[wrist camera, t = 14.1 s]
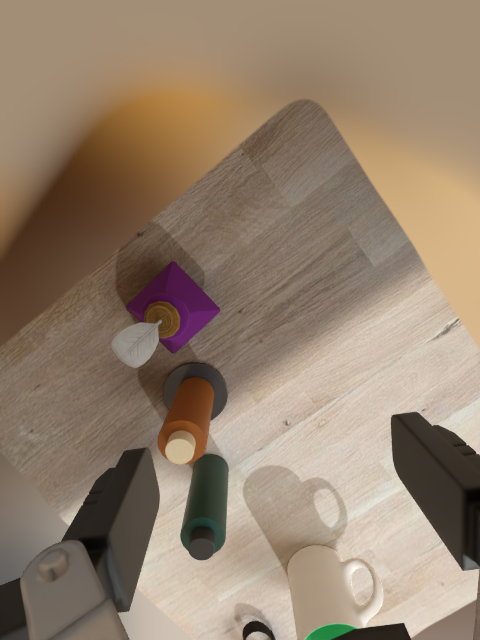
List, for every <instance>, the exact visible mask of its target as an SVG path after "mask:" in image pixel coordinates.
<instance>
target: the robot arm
mask: <svg viewBox="0 0 480 640" xmlns="http://www.w3.org/2000/svg"><path fill="white" fill-rule="evenodd" d="M391 435H392V454H393V462H394V466H395V469H396V472H397V474H398V476H399V478H400V480H401V481H402V483H403V484H404V485H405V487H406V488H407V490H408V491H409V493H410V494H411V496H412V497H413V499H414V500H415V501H416V503H417V504H418V506H419V507H420V509H421V510H422V512H423V513H424V515H425V516H426V518H427V519H428V520H429V522H430V523H431V525H432V526H433V528H434V529H435V531H436V532H437V534H438V535H439V537H440V538H441V539H442V541H443V542H444V544H445V545H446V547H447V548H448V550H449V551H450V553H451V554H452V556H453V557H454V558H455V560H456V561H457V563H458V564H459V566H460V567H461V569H462V570H463V571H465V570H473V569H480V455H479V454H476V452H475V451H474V450H473V449H472V448H471V447H470V446H469V445H466V443H465V442H464V441H463V440H462V439H461V438H460V437H458V436H457V435H456V434H455V433H454V432H451V431H449V430H447V429H445V428H443V427H441V426H439V425H434V426H432V425H431V424H430V423H429V422H428V421H427V420H426V419H424V418H423V417H422V416H421V415H420V414H419V413H418V412H410V413H403V414H396V415H392V417H391ZM159 501H160V494H159V486H158V482H157V477H156V473H155V469H154V464H153V460H152V455H151V452H150V449H149V448H139V449H132V450H126V451H124V452H123V454H122V456H121V458H120V460H119V462H118V464H117V465H116V467H115V468H109V469H108V470H107V471H106V472H105V473H104V474H102V475H101V476H100V477H99V478H98V479H97V480H96V482H95V483H94V485H93V487H92V489H91V490H90V492H89V495H88V496H87V497H86V499H85V501H84V502H83V506H81V508H80V509H79V511H78V513H77V515H76V516H75V518H74V520H73V521H72V523H71V525H70V527H69V528H68V530H67V532H66V534H65V535H64V537H63V539H62V541H61V542H59V543H56V544H54V545H52V546H50V547H48V548H46V549H45V550H43V551H42V552H40V553H39V554H38V555H37V556H36V557H35V558H34V559H33V560H32V561H31V562H30V563H29V564H28V565H27V567H26V568H25V570H24V571H23V574H22V576H21V578H18V579H16V580H13V581H11V582H8V583H6V584H3V585H0V640H129V637H128V635H127V633H126V631H125V629H124V626H123V624H122V622H121V619H120V617H119V615H118V612H127V611H129V610H130V607H131V603H132V599H133V596H134V593H135V589H136V586H137V582H138V579H139V575H140V572H141V568H142V565H143V561H144V558H145V554H146V551H147V547H148V544H149V540H150V537H151V533H152V530H153V526H154V523H155V519H156V516H157V512H158V509H159ZM331 640H411V638H410V636H409V634H408V632H407V629H406V627H405V625H404V623H400V624H392V625H384V626H376V627H368V628H359V629H353V630H351V631H349V632H347V633H345V634H342V635H340V636H338V637H336V638H334V639H331ZM473 640H480V570H479V582H478V593H477V604H476V615H475V627H474V638H473Z"/></svg>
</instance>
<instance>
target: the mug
mask: <svg viewBox="0 0 480 640" xmlns="http://www.w3.org/2000/svg"><path fill="white" fill-rule="evenodd" d="M358 568H366V569H368V570H369V571H370V573H371V576H372V579H373V594H372V596H371V598H370V600H369V601H368V602H367V603H366V604H364V605H362V606H359V605H358V604H357V601H356V598H355V595H354V591H353V588H352V583H351V577H352V573H353V572H354V571H355V570H356V569H358ZM287 573H288V580H289V586H290V593H291V600H292V606H293V613H294V619H295V626H296V633H297V639H298V640H331V639H334V638H336V637H338V636H340V635H342V634H345V633H347V632H349V631H351V630H353V629H359V628H366V623H367V621H368V620H369V619H371V618H372V617H373V616H374V615H375V614H376V613H377V612H378V611H379V609H380V608H381V605H382V602H383V588H382V584H381V581H380V578H379V576H378V574H377V572H376V571H375V570H374V568H373V567H372V566H371V565H370V564H369V563H368V562H366V561H365V560H363V559H361V558H351V559H348V560H346V561H345V562H343V560H342V558H341V556H340V555H339V554H338V553H337V552H336V551H335V550H333V549H332V548H329V547H327V546H322V545H312V546H307V547H305V548H302V549H300V550H299V551H297V552H296V553H295V554H294V555H293V556H292V557H291V559H290V561H289V563H288V567H287Z"/></svg>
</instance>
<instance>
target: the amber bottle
mask: <svg viewBox="0 0 480 640" xmlns="http://www.w3.org/2000/svg"><path fill="white" fill-rule="evenodd" d="M213 401H214V390H213V387H212V386H211V384H210V383H209V382H208V381H206V380H205V379H202V378H198V377H192V378H188V379H186V380H185V381H183V382H182V383H181V384H180V386H179V388H178V390H177V393H176V395H175V397H174V400H173V402H172V405H171V407H170V409H169V412H168V414H167V416H166V419H165V421H164V424H163V426H162V428H161V431H160V433H159V436H158V447H159V450H160V452H161V453H162V455H163V456H164V457H165V458H166V459H168V460H169V461H171V462H172V463H175V464H189V463H192V462H194V461H196V460H198V459H199V458H200V457H201V456H202V455H203V453H204V451H205V449H206V444H207V438H208V432H209V426H210V419H211V413H212V407H213Z"/></svg>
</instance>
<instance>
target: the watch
mask: <svg viewBox="0 0 480 640" xmlns="http://www.w3.org/2000/svg"><path fill="white" fill-rule="evenodd" d="M257 631H258V632H263V633H265V634H267V635H268V636H269V637H270V638H271V640H275V637H274V635H273V633H272V631H271V632H270V630H269V629H268V627H267V626H266V625H265V624H263V623H261V622H258V621H252V622H249V623H248V624H246V626H245V627H244V629H243V640H246V638H247V636H248V635H249V634H251V633H252V632H257Z"/></svg>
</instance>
